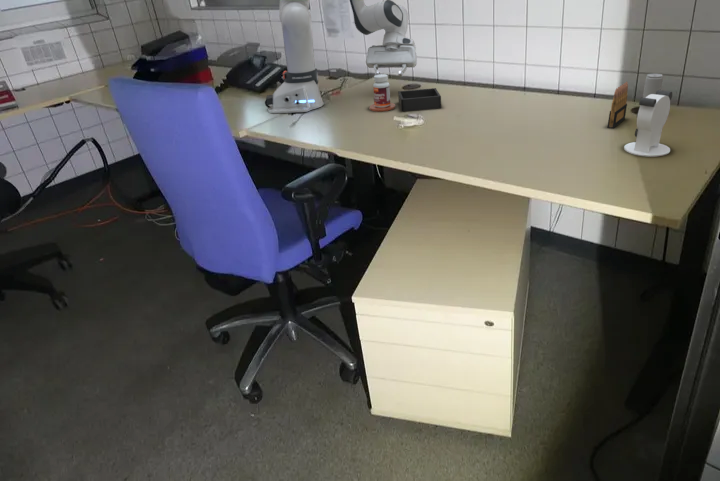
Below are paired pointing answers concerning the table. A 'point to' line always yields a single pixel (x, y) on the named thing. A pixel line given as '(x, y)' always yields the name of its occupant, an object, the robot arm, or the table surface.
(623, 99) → the brown panel in holder
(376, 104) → the pill bottle
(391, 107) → the coaster
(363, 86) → the table surface
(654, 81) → the beverage can
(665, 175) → the table surface
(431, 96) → the black box
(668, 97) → the white disc-based upright fixture
